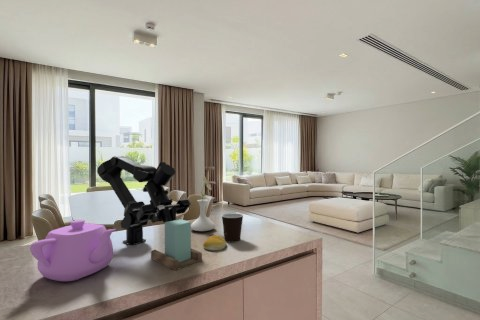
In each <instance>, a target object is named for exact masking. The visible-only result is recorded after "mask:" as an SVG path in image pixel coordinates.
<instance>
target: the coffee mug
mask: <svg viewBox="0 0 480 320" xmlns="http://www.w3.org/2000/svg"><path fill="white" fill-rule="evenodd" d="M243 218H244V214H241V213H236V212H235V213H233V212H229V213H224V214H222V215H221V221H222V228H223V229H222V231H223V238H224V239H225V241H226V243H238V242H240V241H241V236H242V235H241V233H242V226H243Z"/></svg>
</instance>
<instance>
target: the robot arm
mask: <svg viewBox="0 0 480 320" xmlns="http://www.w3.org/2000/svg"><path fill="white" fill-rule="evenodd" d="M122 171H125V172H127V173H129V174H131V175H132V176H133V177H132V178H133V179H134V180H136V182H138V183H146V184H144V186H143V188H142V192H143V193H148V195H149V199H150V200H149V204H145V202H144V201H137V200H136V198H135V197H134V196H133V194H132V192H131V191H130V189H129V188H128V186H127V184H126V183H125V182H124V180H123V178H122V177H121V176H122ZM96 172H97V175H98V176H99V178H101V180H102V181H104V182H105V183H108V184H109V185H110V187H111V189H112V190H113V192H114V193H115V194H116V195H115V196H117V198H118V200H119V201H120V203H121V205H122V206H123V208H124V210H123V216H124V217H123V218H122V219H121V221H120V227H121V229H125V231H126V232H125V234H126V237H125V238H126V239H125V240H122V243H124V244H126V245H130V246H134V245H137V244H138V245H139V244H140V243H141V244H142V243H144V242H147V239H146V238H144V231H143V229H144V226H147V225H148V221H150V222H151V223H153V224H154V223H157V222H163V223H164V224H165V222H168V221H173V220H177V215H181V214H184V213H186V212H187V210H188V209H189V207H190V206H191V202H190V200H189V198H186V199H178V200H177V202H176V203H175V204H172V203H173V202H174V200H173V199H170V198H169V195H168V194H169V190H165V188H164V186H167V185H168V184H169V182H170V181H171V180H172V178H173V177H174V176H175V174H176V170H175V168H174V167H173V166H171V165H170V164H167V163H166V162H165V161H160V162H159V163H158V166H157V167H155V166H153V165H142V164H140V163H137V162H136V161H134V160H131V159H129V158H127V157H126V156H123V155H114V156H112V157H110V159H108V160H106V161H103V162H102V163H101V164H99V166H98V167H97V169H96Z"/></svg>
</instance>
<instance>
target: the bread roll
mask: <svg viewBox="0 0 480 320" xmlns="http://www.w3.org/2000/svg"><path fill="white" fill-rule="evenodd" d="M226 246H227V242H226V241H225V239H224V236H221V235H217V234H216V235H215V234H214V235H211V236H209V237H207V239H206V240H205V241H204V242H203V244H202V248H204V249H205V250H207V251H213V252H214V251H220V250H223V249H225V248H226Z"/></svg>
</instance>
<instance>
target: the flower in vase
mask: <svg viewBox="0 0 480 320" xmlns="http://www.w3.org/2000/svg"><path fill="white" fill-rule="evenodd" d="M201 178H202V181H203V183H204V184H203V187H202V189H201V191H200V193H201V196H200V198H201V199H197V200H196V201H197V202H198V205H199V209H200V210H199V216H198V217H197V218H196V219H195V220H194V221H193V222H191V230H193V231H196V232H208V231H211V230H213V229H214V228H215V227H216V224H215V223H214V222H213V221H212V220H211V219H210V218H208V217H207V215H206V205H207V203H208V201H209V199H204V197H205V196H207V194H206V193H203V190H204V188H205V186H206V188H207V189H209V190H210V191H212V190H213V189H212V185H211V184H210V181H209V180H208V179H207V178H206V176H204V175H202V177H201Z"/></svg>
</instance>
